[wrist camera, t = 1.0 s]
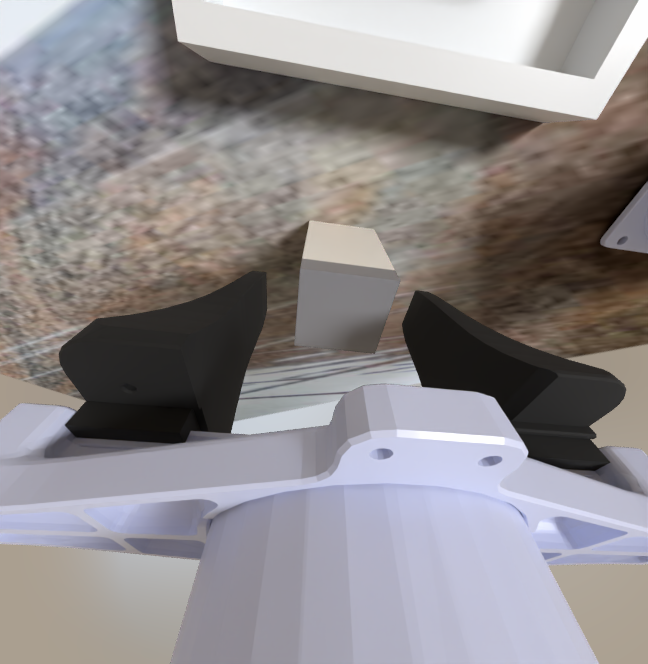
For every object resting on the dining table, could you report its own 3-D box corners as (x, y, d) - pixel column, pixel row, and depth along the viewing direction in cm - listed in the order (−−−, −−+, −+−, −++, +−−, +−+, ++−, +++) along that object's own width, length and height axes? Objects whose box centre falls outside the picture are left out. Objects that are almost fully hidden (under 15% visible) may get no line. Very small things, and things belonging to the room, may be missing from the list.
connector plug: (373, 229, 15) (400, 281, 10) (359, 286, 18) (374, 353, 12) (309, 220, 15) (300, 268, 10) (304, 279, 18) (294, 345, 12)
